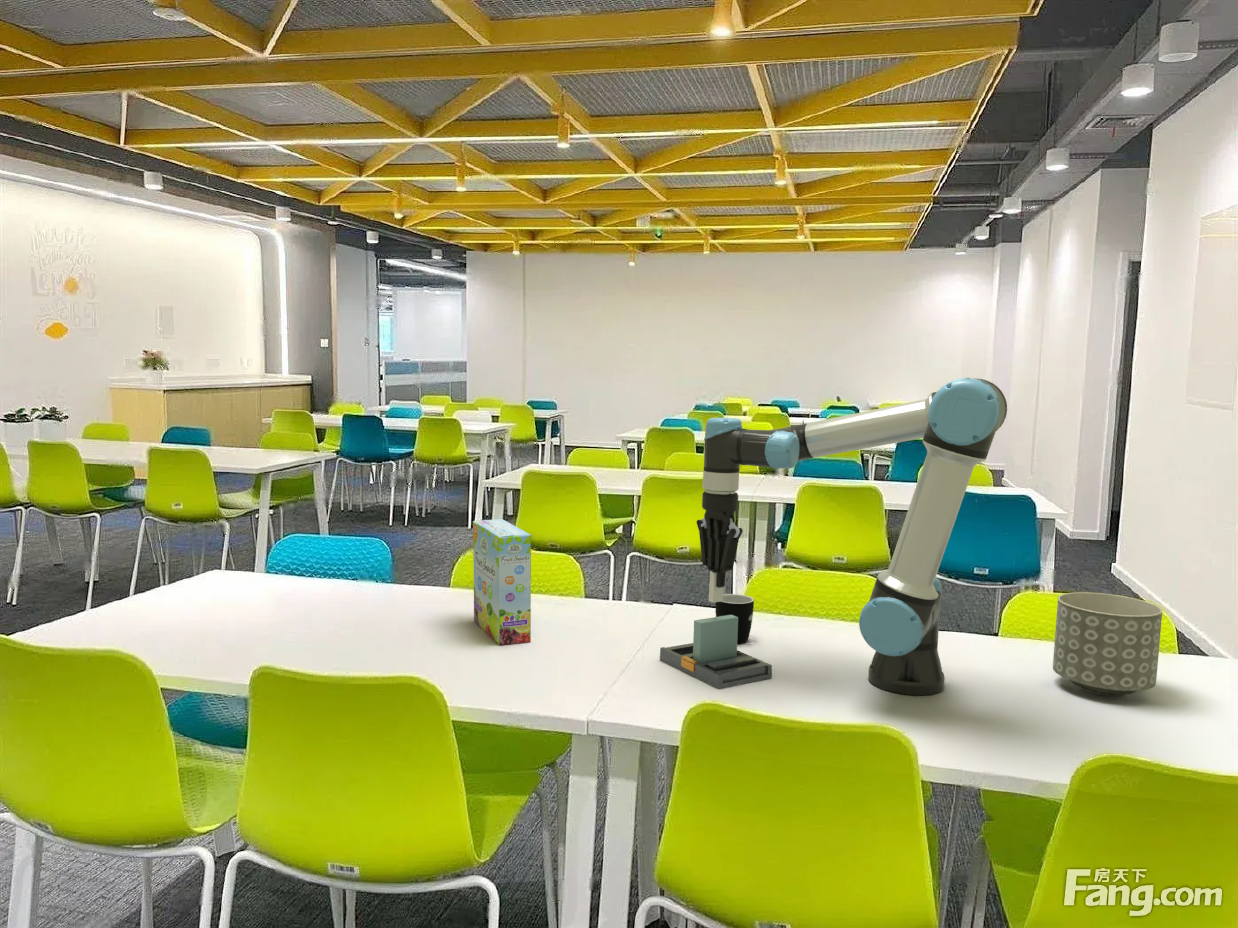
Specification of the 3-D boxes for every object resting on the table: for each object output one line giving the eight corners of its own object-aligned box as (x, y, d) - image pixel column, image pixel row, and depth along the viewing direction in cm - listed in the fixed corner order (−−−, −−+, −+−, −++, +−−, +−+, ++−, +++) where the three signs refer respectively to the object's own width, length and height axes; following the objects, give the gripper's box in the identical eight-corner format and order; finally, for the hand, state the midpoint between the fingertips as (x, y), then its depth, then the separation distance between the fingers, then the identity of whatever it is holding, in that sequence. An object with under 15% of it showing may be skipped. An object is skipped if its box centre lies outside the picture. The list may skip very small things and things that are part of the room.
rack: (771, 678, 194) (772, 661, 194) (717, 689, 187) (718, 672, 186) (710, 650, 212) (710, 635, 212) (658, 659, 205) (659, 644, 204)
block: (736, 662, 201) (738, 617, 200) (699, 669, 196) (700, 623, 195) (729, 659, 203) (731, 614, 202) (692, 666, 198) (694, 620, 197)
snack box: (470, 622, 231) (470, 519, 228) (503, 618, 235) (504, 518, 232) (496, 646, 211) (497, 535, 209) (532, 642, 215) (534, 533, 212)
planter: (1064, 667, 206) (1071, 587, 204) (1162, 688, 194) (1170, 603, 192) (1040, 689, 191) (1046, 603, 189) (1144, 713, 179) (1152, 621, 178)
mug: (753, 646, 216) (754, 604, 215) (714, 644, 217) (715, 602, 216) (750, 632, 228) (752, 591, 227) (714, 630, 229) (715, 589, 228)
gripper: (754, 494, 192) (749, 606, 195) (715, 486, 203) (711, 592, 206) (725, 496, 188) (720, 610, 191) (687, 488, 199) (683, 595, 202)
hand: (715, 600), depth 198 cm, fingers closed
